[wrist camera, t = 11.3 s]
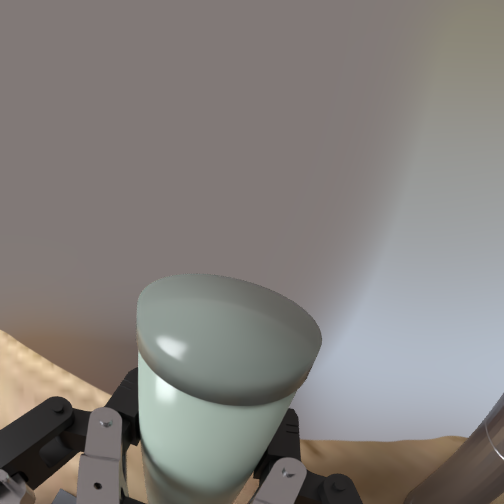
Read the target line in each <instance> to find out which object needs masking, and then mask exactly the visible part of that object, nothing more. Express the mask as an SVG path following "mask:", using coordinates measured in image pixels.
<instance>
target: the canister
mask: <svg viewBox="0 0 504 504" xmlns="http://www.w3.org/2000/svg"><path fill="white" fill-rule="evenodd" d="M136 343H137V347H138V350H139V356H138V359H139V360H138V399H139V424H140V440H141V452H142V462H143V471H144V479H145V487H146V493H147V500H148V504H233V502H234V501H235V499H236V498H237V496H238V495H239V493H240V492H241V490H242V489H243V487H244V485H245V484H246V482H247V481H248V479H249V478H250V476H251V474H252V473H253V471H254V469H255V468H256V466H257V464H258V463H259V461H260V459H261V458H262V456H263V454H264V452H265V451H266V449H267V447H268V445H269V444H270V442H271V440H272V438H273V436H274V434H275V433H276V431H277V429H278V427H279V425H280V423H281V421H282V419H283V417H284V416H285V414H286V412H287V410H288V408H289V406H290V404H291V402H292V399H293V398H294V396H295V393H296V391H297V389H299V388H300V387H301V385H302V384H303V383H304V382H305V380H306V379H307V376H308V374H309V372H310V370H311V368H312V366H313V363H314V361H315V359H316V357H317V354H318V352H319V350H320V347H321V344H322V336H321V332H320V329H319V327H318V325H317V323H316V322H315V320H314V319H313V318H312V317H311V316H310V315H309V314H308V313H307V312H306V311H305V310H304V309H303V308H302V307H300V306H299V305H297V304H296V303H295V302H293V301H292V300H290V299H288V298H286V297H284V296H283V295H281V294H279V293H277V292H275V291H272V290H270V289H268V288H265V287H262V286H259V285H257V284H254V283H251V282H247V281H244V280H239V279H235V278H231V277H225V276H219V275H210V274H181V275H174V276H169V277H165V278H162V279H159V280H157V281H155V282H153V283H151V284H149V285H148V286H147V287H146V288H145V289H144V290H143V291H142V292H141V294H140V296H139V299H138V303H137V318H136Z"/></svg>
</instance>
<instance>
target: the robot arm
mask: <svg viewBox="0 0 504 504" xmlns="http://www.w3.org/2000/svg"><path fill="white" fill-rule="evenodd" d="M298 427H299V421H298V416H297V414H296V413H295V411H294V409H290V408H288V410H287V412H286V414H285V416H284V417H283V419H282V421H281V423H280V425H279V427H278V429H277V431H276V433H275V434H274V436H273V438H272V440H271V442H270V444H269V445H268V447H267V449H266V451H265V452H264V454H263V456H262V458H261V459H260V461H259V463H258V464H257V466H256V468H255V469H254V474H253V478H254V479H260V480H259V487H258V488H257V490H256V491H255V493H254V494H253V496H252V498H251V499H250V501H249V502H248V504H363V503H362V501H361V498H360V496H359V494H358V492H357V490H356V488H355V486H354V483H353V482H352V480H351V479H350V478H349V477H347V476H345V475H343V474H332V475H330V476H328V477H324V476H320V475H317V474H314V473H312V472H310V471H308V470H307V469H306V467H305V466H304V464H303V463H302V462H301V456H300V438H299V428H298ZM139 441H140V424H139V399H138V367H137V368H135V369H133V370H131V371H130V372H128V374H127V375H126V377H125V378H124V380H123V381H122V382H121V384H120V386H119V387H118V388H117V390H116V391H115V392H114V394H113V395H112V397H111V398H110V399H109V401H108V402H107V404H106V405H105V406H104V407H101V408H97V409H95V410H94V411H92V412H90V411H83V410H79V409H75V408H72V405H71V404H70V402H69V401H68V400H66V399H65V398H62V397H58V396H55V397H50V398H48V399H47V400H45V401H44V402H42V403H41V404H39V405H38V406H36V407H35V408H33V409H32V410H30V411H29V412H27V413H26V414H24V415H23V416H21V417H20V418H18V419H17V420H15V421H14V422H12V423H11V424H9V425H8V426H6V427H4V428H3V429H1V430H0V504H34V503H35V494H34V491H33V490H35V489H36V488H37V487H38V486H39V485H41V484H42V483H43V482H44V481H46V480H47V479H48V478H49V477H50V476H52V475H53V474H54V473H55V472H56V471H58V470H59V469H60V468H61V467H62V466H63V465H65V464H66V463H67V462H68V461H69V460H70V459H72V458H73V457H74V456H75V455H76V454H77V453H79V452H80V451H81V452H84V454H81V456H80V461H79V471H78V483H77V500H76V504H145V503H143V502H140V501H137V500H135V499H132V498H130V497H129V494H128V487H127V450H128V448H129V446H130V444H132V445H135V446H137V445H138V443H139ZM503 492H504V393H503V395H502V396H501V398H500V399H499V400H498V402H497V403H496V405H495V406H494V407H493V409H492V410H491V411H490V412H489V414H488V415H487V416H486V418H485V419H484V420H483V421H482V423H481V424H480V425H479V426H478V428H477V429H476V430H475V431H474V432H473V433H472V434H471V436H470V437H469V438H468V439H467V440H466V441H465V442H464V443H463V444H462V445H461V447H460V448H459V449H458V450H457V451H456V452H455V453H454V454H453V455H452V456H451V457H450V458H449V459H448V460H447V461H446V462H445V463H444V464H443V465H441V466H440V467H439V468H438V469H437V470H436V471H435V472H434V473H433V474H431V475H430V476H429V477H428V478H427V479H426V480H425V481H423V482H422V483H421V484H420V485H419V486H417V487H416V488H415V489H414V490H412V491H411V492H410V493H409V495H408V496H407V498H406V499H405V502H404V504H490V503H491V502H492V501H494V500H495V499H496V498H497V497H499V496H500V495H501V494H502V493H503Z"/></svg>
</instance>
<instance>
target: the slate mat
mask: <svg viewBox="0 0 504 504" xmlns="http://www.w3.org/2000/svg"><path fill="white" fill-rule="evenodd" d="M76 500H77V498H76V497H74V496H73V495H71V494H69V493H67V492H66V491H64V490H63V489H60V490H59V492H58V494H57V495H56V497H55V499H54V501H53V502H52V504H76Z"/></svg>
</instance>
